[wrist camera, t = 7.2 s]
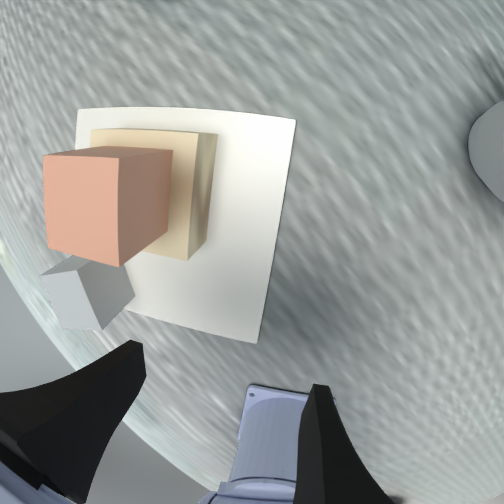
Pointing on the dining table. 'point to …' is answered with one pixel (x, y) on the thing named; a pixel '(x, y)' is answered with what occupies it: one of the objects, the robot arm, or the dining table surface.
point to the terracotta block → (106, 201)
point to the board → (214, 220)
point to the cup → (489, 148)
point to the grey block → (87, 292)
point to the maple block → (175, 182)
